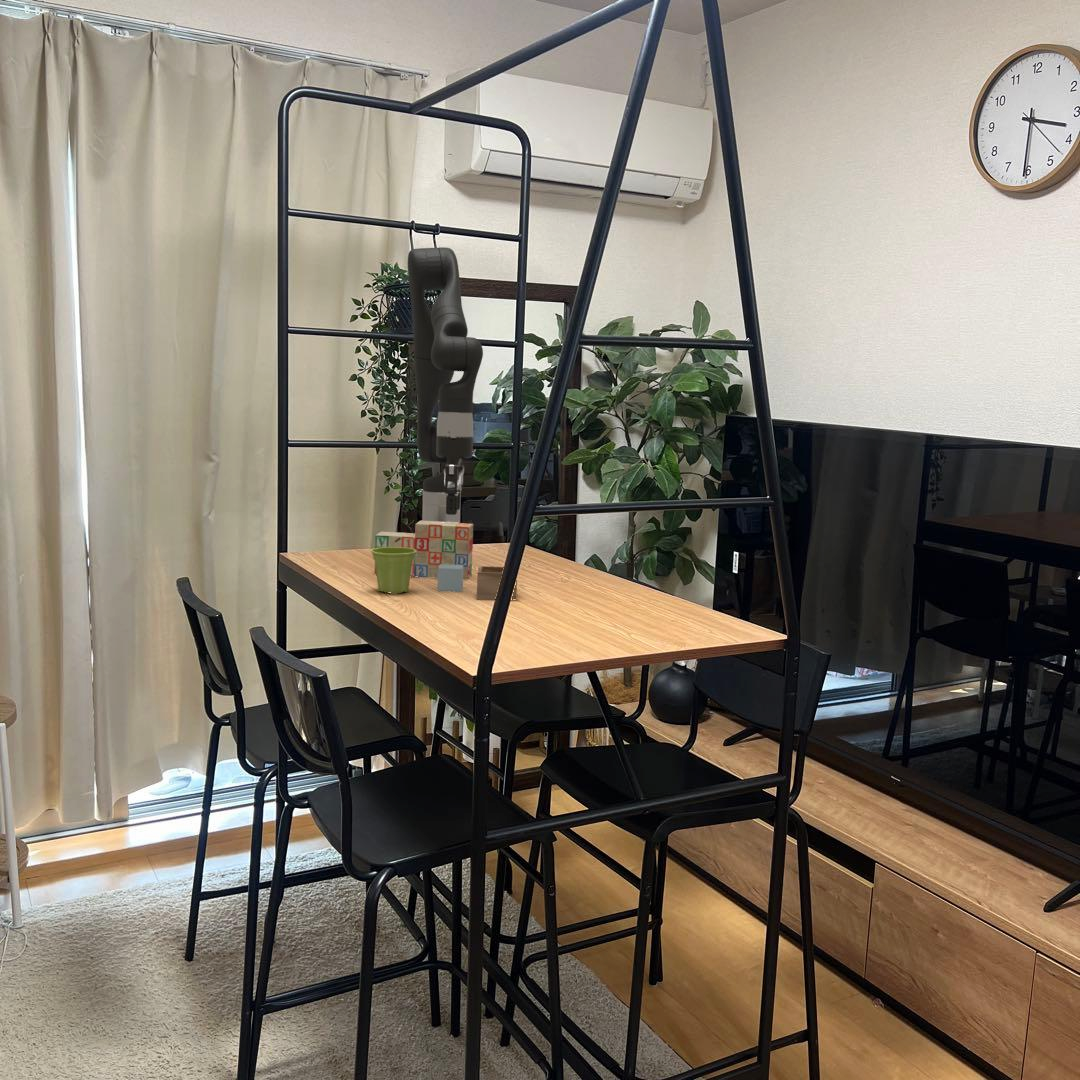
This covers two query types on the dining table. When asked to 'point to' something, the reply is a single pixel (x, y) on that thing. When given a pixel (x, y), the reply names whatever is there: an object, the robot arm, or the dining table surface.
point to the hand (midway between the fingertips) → (453, 512)
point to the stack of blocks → (434, 546)
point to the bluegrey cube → (450, 578)
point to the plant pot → (393, 568)
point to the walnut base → (490, 582)
